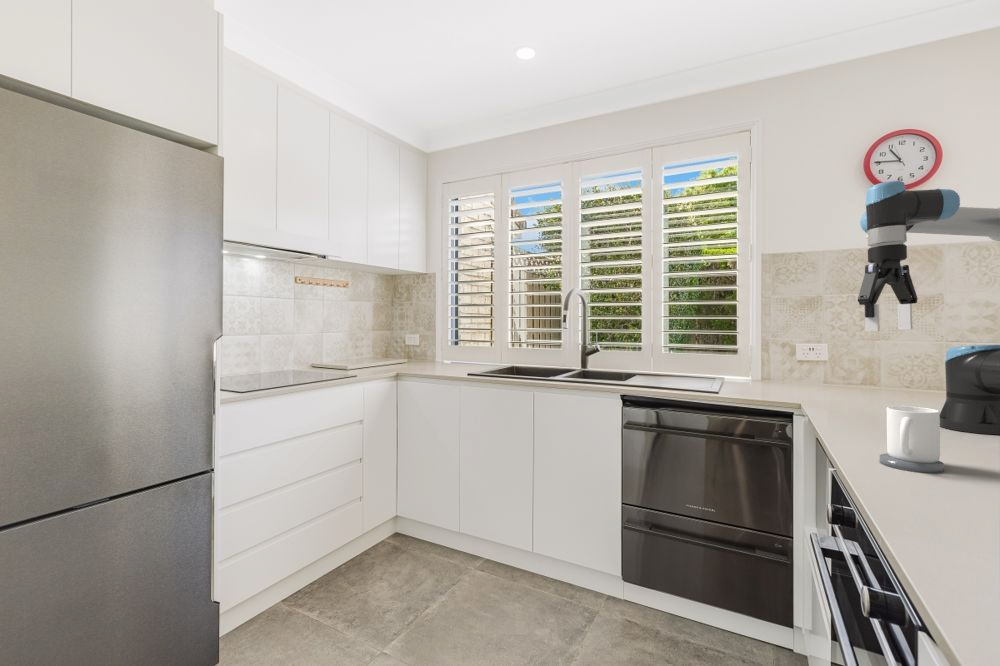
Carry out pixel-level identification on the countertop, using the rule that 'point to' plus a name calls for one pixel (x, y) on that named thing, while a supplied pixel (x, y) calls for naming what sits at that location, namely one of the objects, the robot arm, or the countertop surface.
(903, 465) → the slate plate
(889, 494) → the countertop surface
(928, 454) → the mug
